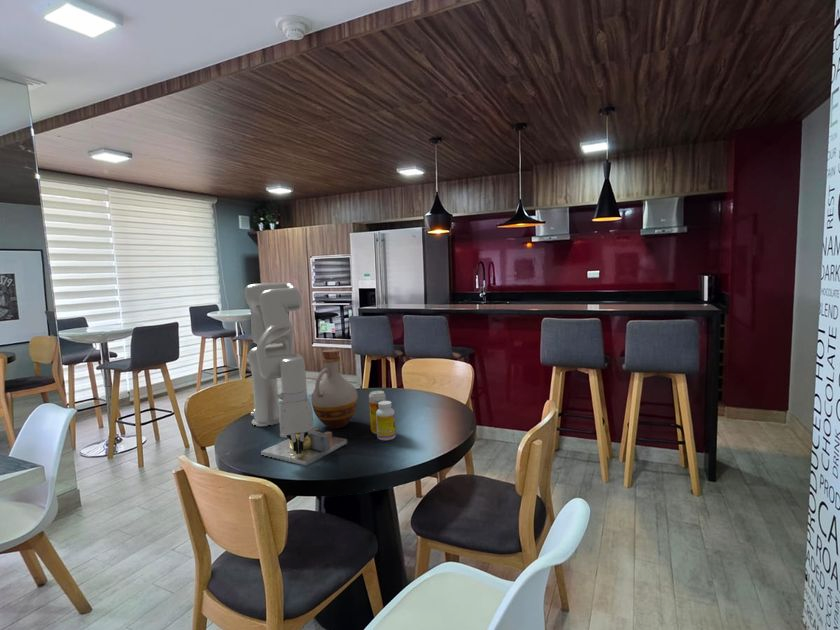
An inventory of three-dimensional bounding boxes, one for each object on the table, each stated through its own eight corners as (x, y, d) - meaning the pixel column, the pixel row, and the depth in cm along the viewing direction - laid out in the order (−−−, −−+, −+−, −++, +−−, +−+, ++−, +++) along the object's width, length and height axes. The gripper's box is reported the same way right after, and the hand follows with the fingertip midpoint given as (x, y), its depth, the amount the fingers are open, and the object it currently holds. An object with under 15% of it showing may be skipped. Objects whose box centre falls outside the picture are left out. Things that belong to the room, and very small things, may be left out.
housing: (261, 455, 146) (259, 436, 146) (304, 435, 164) (303, 418, 163) (306, 465, 136) (304, 445, 136) (346, 443, 154) (345, 425, 153)
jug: (339, 437, 160) (333, 356, 157) (301, 432, 168) (293, 355, 165) (368, 419, 178) (362, 346, 175) (332, 415, 185) (326, 345, 182)
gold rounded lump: (283, 445, 149) (282, 430, 148) (307, 436, 157) (306, 421, 156) (315, 456, 139) (313, 439, 138) (338, 445, 147) (337, 429, 146)
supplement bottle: (396, 440, 155) (395, 404, 154) (378, 442, 154) (376, 406, 153) (394, 433, 161) (393, 399, 160) (376, 435, 160) (374, 400, 159)
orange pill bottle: (373, 435, 160) (371, 395, 159) (368, 430, 166) (366, 391, 164) (389, 432, 162) (387, 392, 161) (384, 427, 168) (382, 389, 167)
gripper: (269, 402, 133) (273, 460, 135) (319, 396, 137) (323, 453, 139) (270, 396, 140) (274, 451, 142) (318, 390, 145) (321, 444, 146)
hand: (298, 452), depth 141 cm, fingers closed
